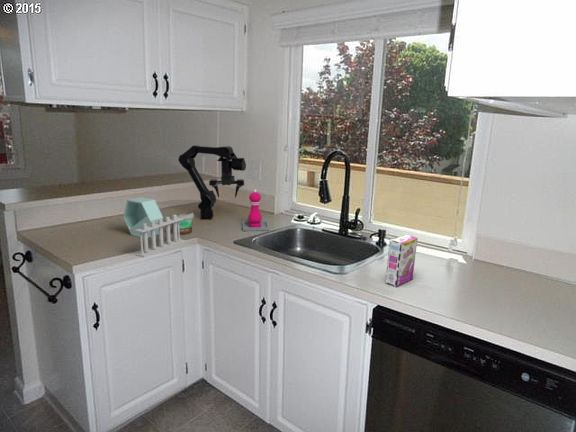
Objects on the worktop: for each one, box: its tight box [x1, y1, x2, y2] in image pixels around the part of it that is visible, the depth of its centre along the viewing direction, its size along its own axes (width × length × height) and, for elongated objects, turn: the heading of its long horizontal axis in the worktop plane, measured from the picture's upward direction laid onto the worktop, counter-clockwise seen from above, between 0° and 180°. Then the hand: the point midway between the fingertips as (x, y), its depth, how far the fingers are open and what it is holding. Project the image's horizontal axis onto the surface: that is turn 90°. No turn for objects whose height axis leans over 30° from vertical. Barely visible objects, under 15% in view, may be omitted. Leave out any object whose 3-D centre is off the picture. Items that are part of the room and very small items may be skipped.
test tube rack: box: [134, 214, 186, 258], centre depth 171 cm, size 25×4×13 cm, turn 154°
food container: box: [169, 210, 195, 236], centre depth 193 cm, size 12×6×10 cm, turn 131°
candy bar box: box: [385, 234, 419, 288], centre depth 141 cm, size 11×5×16 cm, turn 133°
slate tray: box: [242, 220, 270, 232], centre depth 208 cm, size 13×13×2 cm
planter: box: [123, 196, 164, 239], centre depth 188 cm, size 17×8×21 cm
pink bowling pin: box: [247, 189, 263, 228], centre depth 205 cm, size 7×7×20 cm
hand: (227, 197), depth 218 cm, fingers open, 9 cm apart
